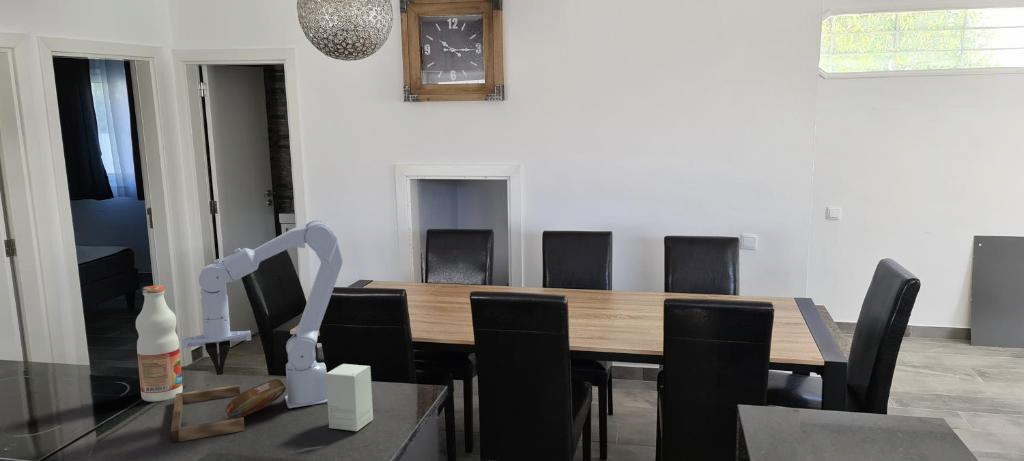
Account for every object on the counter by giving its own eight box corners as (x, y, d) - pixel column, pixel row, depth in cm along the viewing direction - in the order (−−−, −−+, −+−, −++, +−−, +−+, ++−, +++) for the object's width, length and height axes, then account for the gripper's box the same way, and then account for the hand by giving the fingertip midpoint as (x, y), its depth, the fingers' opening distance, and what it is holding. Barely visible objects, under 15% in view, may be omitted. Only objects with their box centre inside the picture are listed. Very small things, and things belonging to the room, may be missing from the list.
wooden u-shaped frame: (240, 394, 176) (239, 384, 176) (244, 430, 153) (243, 419, 153) (176, 403, 171) (175, 393, 170) (171, 442, 148) (170, 431, 147)
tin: (223, 425, 157) (241, 405, 153) (216, 413, 157) (234, 394, 154) (276, 402, 170) (293, 384, 166) (269, 391, 171) (286, 373, 167)
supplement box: (374, 419, 158) (371, 365, 157) (356, 432, 151) (354, 376, 150) (346, 415, 161) (343, 362, 159) (327, 428, 154) (324, 372, 152)
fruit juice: (136, 396, 176) (126, 287, 173) (175, 386, 183) (166, 281, 179) (148, 405, 169) (138, 292, 166) (188, 395, 176) (180, 286, 173)
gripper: (248, 309, 168) (251, 364, 169) (181, 316, 162) (185, 373, 164) (250, 315, 161) (253, 372, 163) (180, 323, 155) (185, 382, 157)
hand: (219, 373), depth 163 cm, fingers closed
